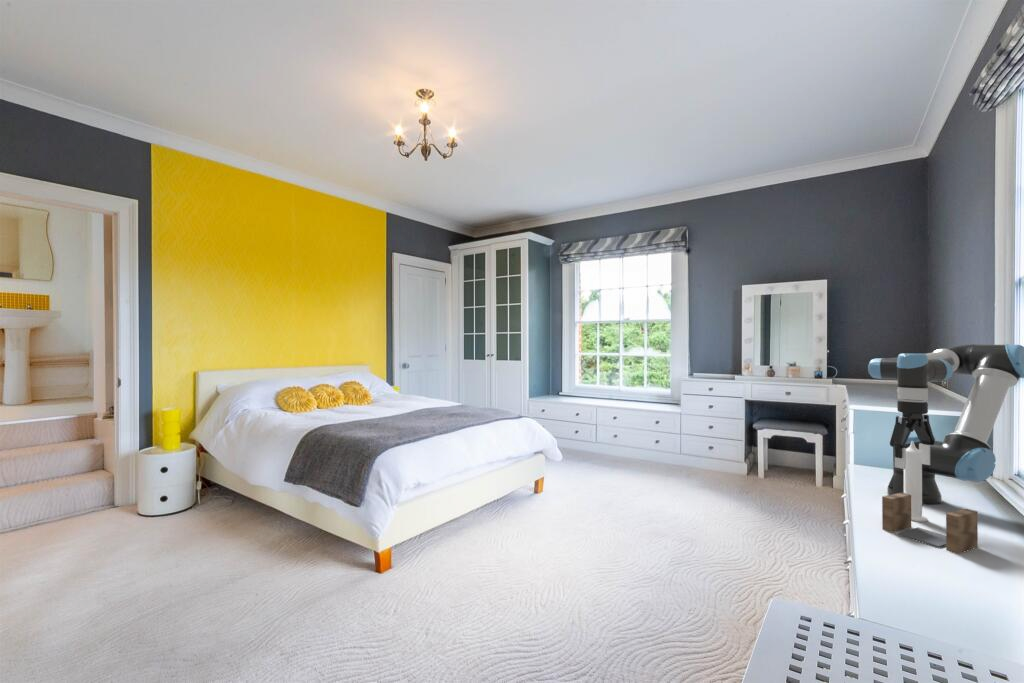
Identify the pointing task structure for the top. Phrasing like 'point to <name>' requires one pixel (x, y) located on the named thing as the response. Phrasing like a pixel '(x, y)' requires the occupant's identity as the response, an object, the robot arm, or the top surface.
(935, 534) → the felt pad
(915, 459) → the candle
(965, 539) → the bookend
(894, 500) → the bookend
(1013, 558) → the top surface
